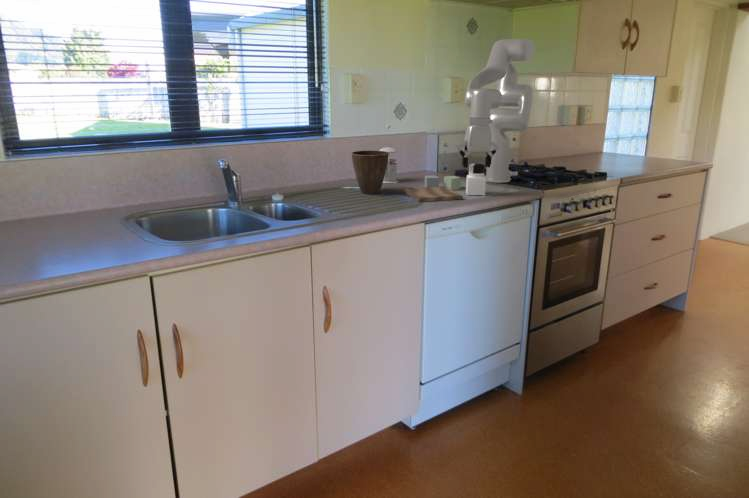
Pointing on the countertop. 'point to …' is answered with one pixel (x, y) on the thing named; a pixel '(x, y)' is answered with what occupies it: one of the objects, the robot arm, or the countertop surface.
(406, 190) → the walnut board
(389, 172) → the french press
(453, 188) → the sage block
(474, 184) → the medicine bottle
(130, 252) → the countertop surface
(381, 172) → the plant pot
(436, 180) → the slate block
